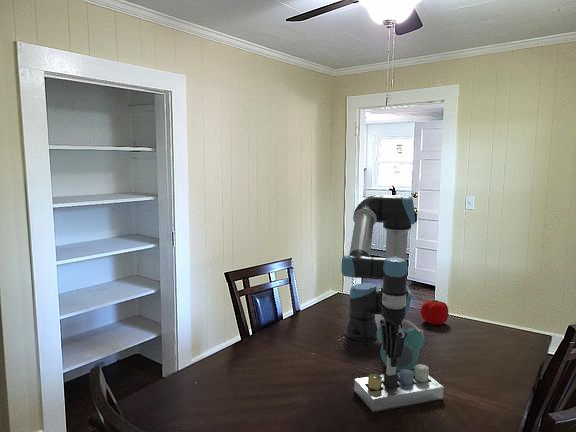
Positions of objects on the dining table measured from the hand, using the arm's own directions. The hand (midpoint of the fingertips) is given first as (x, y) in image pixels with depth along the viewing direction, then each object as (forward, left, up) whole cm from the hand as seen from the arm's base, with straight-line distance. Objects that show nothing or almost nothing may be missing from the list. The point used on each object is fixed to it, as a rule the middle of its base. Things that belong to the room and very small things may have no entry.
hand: (390, 374), depth 142 cm
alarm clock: (-17, +14, -8) cm, 24 cm away
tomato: (-53, +56, -8) cm, 78 cm away
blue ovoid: (0, +6, -6) cm, 9 cm away
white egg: (0, +12, -5) cm, 13 cm away
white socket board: (0, +3, -8) cm, 9 cm away
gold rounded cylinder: (0, -6, -6) cm, 9 cm away
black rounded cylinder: (0, 0, -6) cm, 6 cm away
